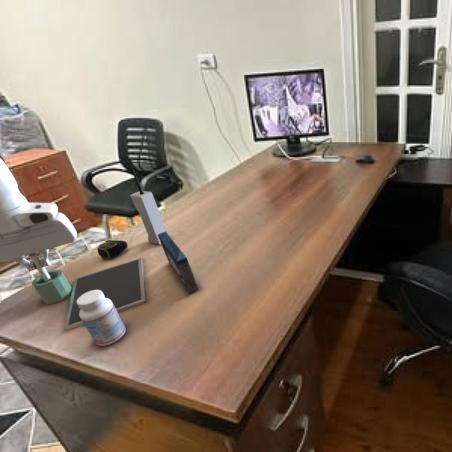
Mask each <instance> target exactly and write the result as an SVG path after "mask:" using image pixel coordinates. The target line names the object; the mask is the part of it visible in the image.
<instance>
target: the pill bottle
mask: <svg viewBox="0 0 452 452" xmlns="http://www.w3.org/2000/svg"><path fill="white" fill-rule="evenodd" d="M77 304H78V306H79V308H80V312H79V316H80V318H81V320H82V322H83V323H84V327H85V328H86V330H87V332H88V333H89V335H90V337H91V338H92V340H93V342H94V343H95V344H96V346H99V347H105V346H110V345H112V344H114V343H116V342H117V341H119V340H120V339H121V338H122V337H123V336H124V335H125V333H126V330H127V329H126V325H125V324H124V322H123V320H122V318H121V316H120V314H119V312H117V310H116V308H115V306H114V305H113V303H112V301H111V300H110V299H108V298H105V296H104V294H103V293H102V291H100V290H92V291H89V292H87V293H85V294H83V295H81V296H80V297H79V298H78V299H77Z"/></svg>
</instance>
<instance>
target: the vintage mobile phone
mask: <svg viewBox="0 0 452 452" xmlns="http://www.w3.org/2000/svg"><path fill="white" fill-rule="evenodd" d="M130 170H131V172H132V175H133V178H134V180H135V183H136V186H137V188H138V191H136V192H134V193H132V194H130V199H131V201H132V202H133V203H132V204H134V207H135V209H136V211H137V212H138V214H139V216H140V219H141V221H142V224H143V226H144V228H145V231H146V233H147V240H148V242H149V243H150V244H155V245H160V246H162V245H161V242H160V240H159V237H158V234H160V233H163V232H167V229H166V226H165V224H164V221H163V218H162V216H161V214H160V211H159V208H158V205H157V202H156V200H155V197H154V194H153V193H152V192H151V191H146V190H143V188H142V186H141V183H140V180H139V179H138V177H137V174H136V172H135V169H134V167H130Z"/></svg>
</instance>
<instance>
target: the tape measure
mask: <svg viewBox="0 0 452 452" xmlns="http://www.w3.org/2000/svg"><path fill="white" fill-rule="evenodd" d="M128 246H129V245H128V243H127V241H126V240H119V239H118V240H117V239H107V240H106V241H105V242H103V243H100V244H99V245H98V247H97V253H98V255H99V257H100V258H102V259H112V258H114V257H117V256H119V255H121V254H122V253H123V252H124V251H125V250H127V248H128Z"/></svg>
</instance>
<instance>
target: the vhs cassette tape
mask: <svg viewBox="0 0 452 452" xmlns="http://www.w3.org/2000/svg"><path fill="white" fill-rule="evenodd" d="M158 237H159V240H160V242H161V245H160V246H161V247H162V250H163V252H164V255H165V256H166V259H167V261H168V263H169V265H170V267H171V268H172V271H174V273H175V275H176V277H177V278H178V279H179V281H180V283H181V284H182V285H183V287H184V288H185V290H186V291H187V292H188V294H191V293H194V292H196V291H197V290H199V287H198V284H197V281H196V279H195V276H194V273H193V270H192V268H191V265H190V263H189V260H188V258H187V256H186V255H185V254H184V252H183V251H182V250H181V248H180V247H179V246H178V245H177V244H176V242H175V241H174V240H173V238H172V237H171V236H170V235H169V233H168V232H167V231H166V232H163V233H160V234H158Z"/></svg>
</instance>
